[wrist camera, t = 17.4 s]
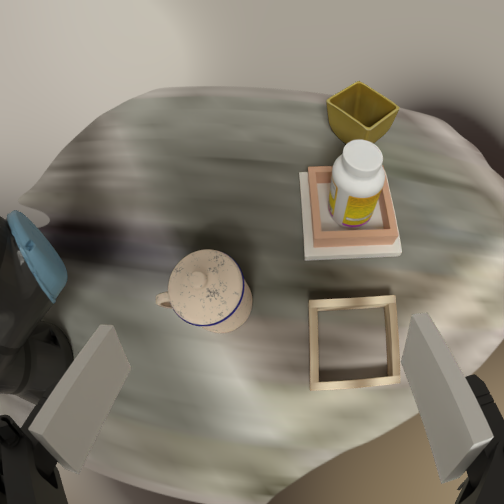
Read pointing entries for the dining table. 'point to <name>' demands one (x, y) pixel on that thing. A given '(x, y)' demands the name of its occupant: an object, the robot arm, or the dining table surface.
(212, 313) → the teacup with lid
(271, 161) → the dining table surface
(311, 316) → the holder ring
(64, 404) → the robot arm
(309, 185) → the plate
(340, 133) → the flower pot
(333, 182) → the supplement bottle
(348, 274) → the dining table surface
